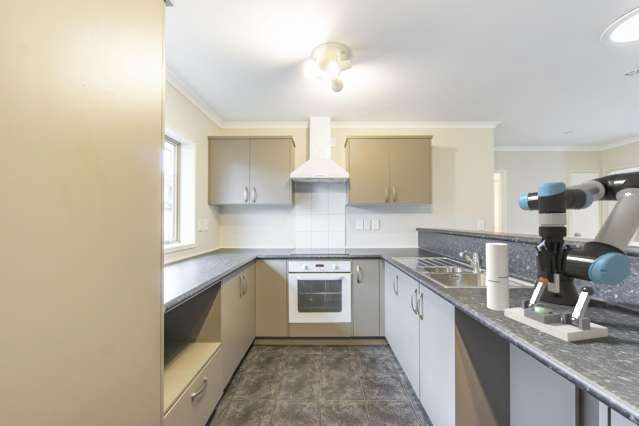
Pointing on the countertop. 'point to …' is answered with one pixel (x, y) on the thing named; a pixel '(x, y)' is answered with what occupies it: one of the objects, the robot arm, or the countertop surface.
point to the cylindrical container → (497, 276)
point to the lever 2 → (581, 306)
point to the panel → (556, 323)
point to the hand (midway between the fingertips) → (553, 291)
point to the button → (542, 310)
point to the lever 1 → (537, 292)
